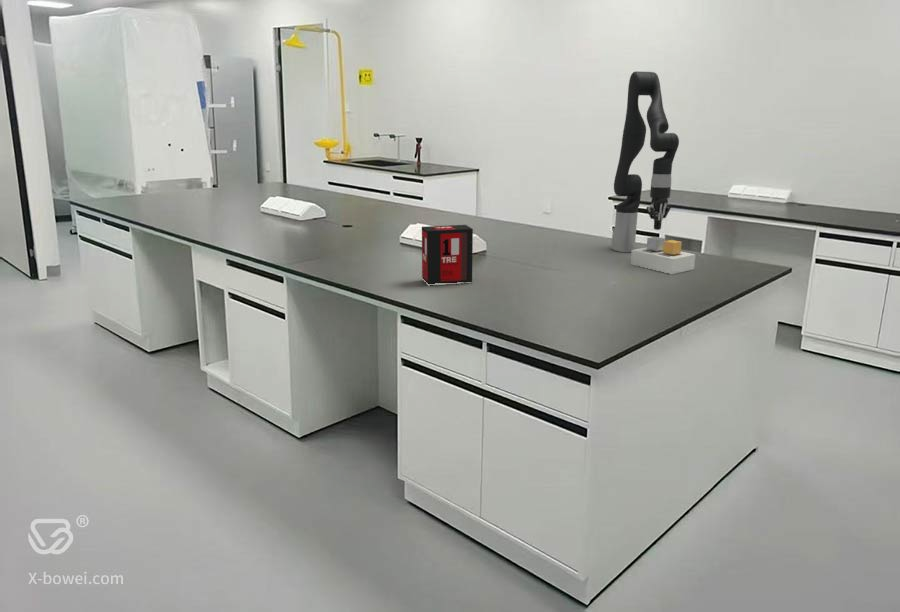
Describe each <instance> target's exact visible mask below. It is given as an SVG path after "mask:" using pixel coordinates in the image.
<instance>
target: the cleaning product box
mask: <svg viewBox="0 0 900 612" xmlns="http://www.w3.org/2000/svg"><path fill="white" fill-rule="evenodd" d="M473 232H474V229H473V228H472V227H470V226H469V225H467V224H456V225H454V224H451V225H434V226H433V225H432V226H431V225H429V226H428V225H427V226H421V274H422V275H421V277H422V278H423V279H424V280H425V281H426V282H427V283H428V284H435V283H457V282H472V283H473V252H474V251H473V247H474V245H473V244H474V242H473V237H474V233H473ZM422 278H421V279H422Z"/></svg>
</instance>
